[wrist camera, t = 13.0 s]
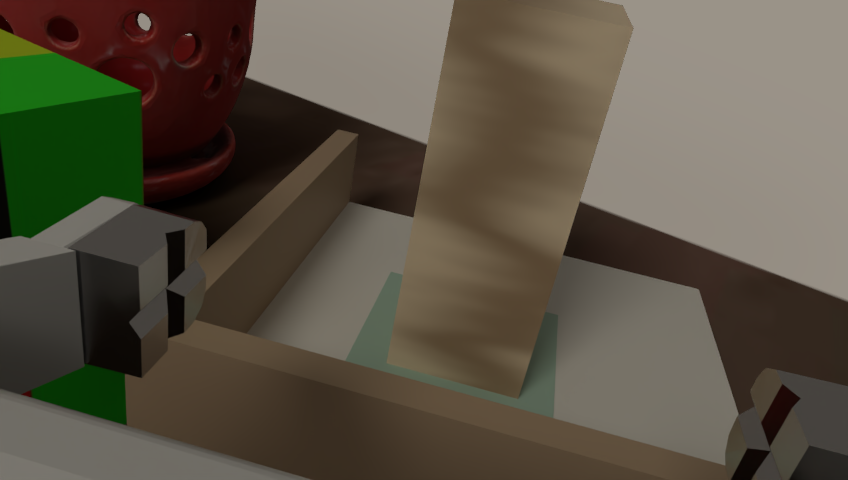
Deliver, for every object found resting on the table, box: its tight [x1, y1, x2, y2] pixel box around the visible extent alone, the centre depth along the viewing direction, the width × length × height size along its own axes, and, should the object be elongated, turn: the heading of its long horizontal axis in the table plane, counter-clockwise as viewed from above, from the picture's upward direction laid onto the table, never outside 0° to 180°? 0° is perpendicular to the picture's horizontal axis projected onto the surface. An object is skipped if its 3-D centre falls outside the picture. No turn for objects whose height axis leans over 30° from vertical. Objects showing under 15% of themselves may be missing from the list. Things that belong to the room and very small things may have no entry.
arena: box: [125, 130, 739, 480], centre depth 24 cm, size 18×17×4 cm
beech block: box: [387, 0, 633, 399], centre depth 22 cm, size 4×4×12 cm
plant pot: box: [0, 0, 256, 204], centre depth 31 cm, size 13×13×12 cm
